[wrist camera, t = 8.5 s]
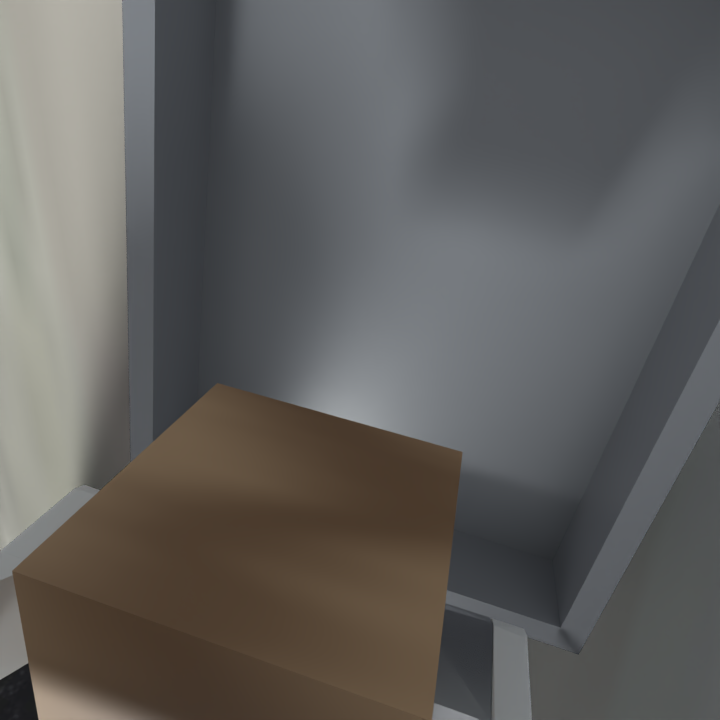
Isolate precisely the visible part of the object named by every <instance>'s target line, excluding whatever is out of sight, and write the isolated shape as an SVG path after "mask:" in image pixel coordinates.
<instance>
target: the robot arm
mask: <svg viewBox="0 0 720 720" xmlns="http://www.w3.org/2000/svg"><path fill="white" fill-rule="evenodd" d="M99 491H100V490H98V489H95V488H92V487H89V486H87V485H83V486H80V487H77V488H75V489H73V490H72V491H71V492H69V493H68V494H67V495H66V496H65V497H64V498H62V499H61V500H60V501H59V502H58V503H56V504H55V505H54V506H53V507H52V508H51V509H49V510H48V511H47V512H46V513H45V514H43V515H42V516H41V517H40V518H39V519H38V520H36V521H35V522H34V523H33V524H32V525H30V526H29V527H28V528H27V529H26V530H25V531H23V532H22V533H21V534H20V535H19V536H17V537H16V538H15V539H14V540H13V541H12V542H10V543H9V544H8V545H7V546H6V547H4V548H3V549H2V550H1V551H0V680H1V679H2V678H4V677H6V676H7V675H9V674H11V673H12V672H14V671H16V670H17V669H19V668H21V667H23V666H24V665H26V664H28V658H27V652H26V646H25V641H24V635H23V630H22V624H21V618H20V613H19V607H18V602H17V596H16V590H15V585H14V579H13V574H12V570H13V569H15V568H16V567H17V566H18V565H19V564H20V563H21V562H22V561H23V560H24V559H25V558H27V557H28V556H29V555H30V554H31V553H32V552H33V551H34V550H35V549H36V548H37V547H39V546H40V545H41V544H42V543H43V542H44V541H45V540H46V539H47V538H48V537H50V536H51V535H52V534H53V533H54V532H55V531H56V530H57V529H58V528H59V527H60V526H62V525H63V524H64V523H65V522H66V521H67V520H68V519H69V518H70V517H71V516H72V515H74V514H75V513H76V512H77V511H78V510H79V509H80V508H81V507H82V506H83V505H85V504H86V503H87V502H88V501H89V500H90V499H91V498H92V497H93V496H94V495H95V494H97V493H98V492H99ZM432 720H532V712H531V694H530V677H529V660H528V642H527V634H526V632H525V630H524V629H523V628H520V627H517V626H514V625H511V624H508V623H505V622H501V621H498V620H495V619H490V618H489V617H487V616H484V615H481V614H478V613H474V612H471V611H468V610H465V609H462V608H459V607H455V606H452V605H449V604H446V603H445V610H444V619H443V628H442V637H441V645H440V654H439V663H438V672H437V680H436V689H435V698H434V707H433V715H432Z"/></svg>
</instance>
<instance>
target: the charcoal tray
mask: <svg viewBox="0 0 720 720" xmlns="http://www.w3.org/2000/svg"><path fill="white" fill-rule="evenodd" d="M122 11H123V67H124V123H125V179H126V235H127V291H128V347H129V403H130V459H131V462H132V461H133V460H134V459H135V458H136V457H137V456H138V455H139V454H140V453H141V452H142V451H144V450H145V449H146V448H147V447H148V446H149V445H150V444H151V443H152V442H153V441H155V440H156V439H157V438H158V437H159V436H160V435H161V434H162V433H163V432H164V431H165V430H167V429H168V428H169V427H170V426H171V425H172V424H173V423H174V422H175V421H176V420H177V419H179V418H180V417H181V416H182V415H183V414H184V413H185V412H186V411H187V410H188V409H190V408H191V407H192V406H193V405H194V404H195V403H196V402H197V401H198V400H199V399H200V398H202V397H203V396H204V395H205V394H206V393H207V392H208V391H209V390H210V389H211V388H212V387H214V386H215V385H216V384H217V383H219V384H223V385H226V386H230V387H233V388H237V389H240V390H244V391H248V392H251V393H255V394H258V395H262V396H265V397H269V398H273V399H276V400H280V401H283V402H287V403H290V404H294V405H297V406H301V407H305V408H308V409H312V410H315V411H319V412H322V413H326V414H329V415H333V416H337V417H340V418H344V419H347V420H351V421H354V422H358V423H361V424H365V425H369V426H372V427H376V428H379V429H383V430H386V431H390V432H394V433H397V434H401V435H404V436H408V437H411V438H415V439H418V440H422V441H426V442H429V443H433V444H436V445H440V446H443V447H447V448H450V449H454V450H458V451H461V452H463V453H462V462H461V470H460V479H459V488H458V497H457V505H456V514H455V523H454V532H453V540H452V549H451V558H450V567H449V575H448V584H447V593H446V602H445V603H446V604H449V605H452V606H455V607H459V608H462V609H465V610H468V611H471V612H474V613H478V614H481V615H484V616H487V617H489V618H490V619H495V620H498V621H501V622H505V623H508V624H511V625H514V626H517V627H520V628H523V629H524V630H525V632H526V634H527V637H528V638H531V639H534V640H537V641H540V642H543V643H546V644H549V645H552V646H555V647H558V648H561V649H564V650H567V651H570V652H573V653H576V654H579V653H580V651H581V649H582V647H583V646H584V644H585V642H586V640H587V638H588V637H589V635H590V633H591V631H592V629H593V628H594V626H595V624H596V622H597V620H598V619H599V617H600V615H601V613H602V611H603V610H604V608H605V606H606V604H607V603H608V601H609V599H610V597H611V595H612V594H613V592H614V590H615V588H616V586H617V585H618V583H619V581H620V579H621V577H622V576H623V574H624V572H625V570H626V568H627V567H628V565H629V563H630V561H631V559H632V558H633V556H634V554H635V552H636V550H637V549H638V547H639V545H640V543H641V541H642V540H643V538H644V536H645V534H646V532H647V531H648V529H649V527H650V525H651V524H652V522H653V520H654V518H655V516H656V515H657V513H658V511H659V509H660V507H661V506H662V504H663V502H664V500H665V498H666V497H667V495H668V493H669V491H670V489H671V488H672V486H673V484H674V482H675V480H676V479H677V477H678V475H679V473H680V471H681V470H682V468H683V466H684V464H685V462H686V461H687V459H688V457H689V455H690V453H691V452H692V450H693V448H694V446H695V445H696V443H697V441H698V439H699V437H700V436H701V434H702V432H703V430H704V428H705V427H706V425H707V423H708V421H709V419H710V418H711V416H712V414H713V412H714V410H715V409H716V407H717V405H718V403H719V401H720V0H122Z"/></svg>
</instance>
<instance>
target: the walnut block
mask: <svg viewBox="0 0 720 720" xmlns="http://www.w3.org/2000/svg"><path fill="white" fill-rule="evenodd" d="M462 453H463V452H461V451H458V450H454V449H450V448H447V447H443V446H440V445H436V444H433V443H429V442H426V441H422V440H418V439H415V438H411V437H408V436H404V435H401V434H397V433H394V432H390V431H386V430H383V429H379V428H376V427H372V426H369V425H365V424H361V423H358V422H354V421H351V420H347V419H344V418H340V417H337V416H333V415H329V414H326V413H322V412H319V411H315V410H312V409H308V408H305V407H301V406H297V405H294V404H290V403H287V402H283V401H280V400H276V399H273V398H269V397H265V396H262V395H258V394H255V393H251V392H248V391H244V390H240V389H237V388H233V387H230V386H226V385H223V384H219V383H217V384H216V385H215V386H214V387H212V388H211V389H210V390H209V391H208V392H207V393H206V394H205V395H204V396H203V397H202V398H200V399H199V400H198V401H197V402H196V403H195V404H194V405H193V406H192V407H191V408H190V409H188V410H187V411H186V412H185V413H184V414H183V415H182V416H181V417H180V418H179V419H177V420H176V421H175V422H174V423H173V424H172V425H171V426H170V427H169V428H168V429H167V430H165V431H164V432H163V433H162V434H161V435H160V436H159V437H158V438H157V439H156V440H155V441H153V442H152V443H151V444H150V445H149V446H148V447H147V448H146V449H145V450H144V451H142V452H141V453H140V454H139V455H138V456H137V457H136V458H135V459H134V460H133V461H132V462H130V463H129V464H128V465H127V466H126V467H125V468H124V469H123V470H122V471H121V472H120V473H118V474H117V475H116V476H115V477H114V478H113V479H112V480H111V481H110V482H109V483H107V484H106V485H105V486H104V487H103V488H102V489H101V490H100V491H99V492H98V493H97V494H95V495H94V496H93V497H92V498H91V499H90V500H89V501H88V502H87V503H86V504H85V505H83V506H82V507H81V508H80V509H79V510H78V511H77V512H76V513H75V514H74V515H72V516H71V517H70V518H69V519H68V520H67V521H66V522H65V523H64V524H63V525H62V526H60V527H59V528H58V529H57V530H56V531H55V532H54V533H53V534H52V535H51V536H50V537H48V538H47V539H46V540H45V541H44V542H43V543H42V544H41V545H40V546H39V547H37V548H36V549H35V550H34V551H33V552H32V553H31V554H30V555H29V556H28V557H27V558H25V559H24V560H23V561H22V562H21V563H20V564H19V565H18V566H17V567H16V568H15V569H13V570H12V574H13V579H14V585H15V590H16V596H17V602H18V607H19V613H20V618H21V624H22V630H23V635H24V641H25V646H26V652H27V658H28V663H29V669H30V674H31V680H32V685H33V691H34V697H35V702H36V708H37V713H38V719H39V720H432V715H433V707H434V698H435V689H436V680H437V672H438V663H439V654H440V645H441V637H442V628H443V619H444V610H445V602H446V593H447V584H448V575H449V567H450V558H451V549H452V540H453V532H454V523H455V514H456V505H457V497H458V488H459V479H460V470H461V462H462Z"/></svg>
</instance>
